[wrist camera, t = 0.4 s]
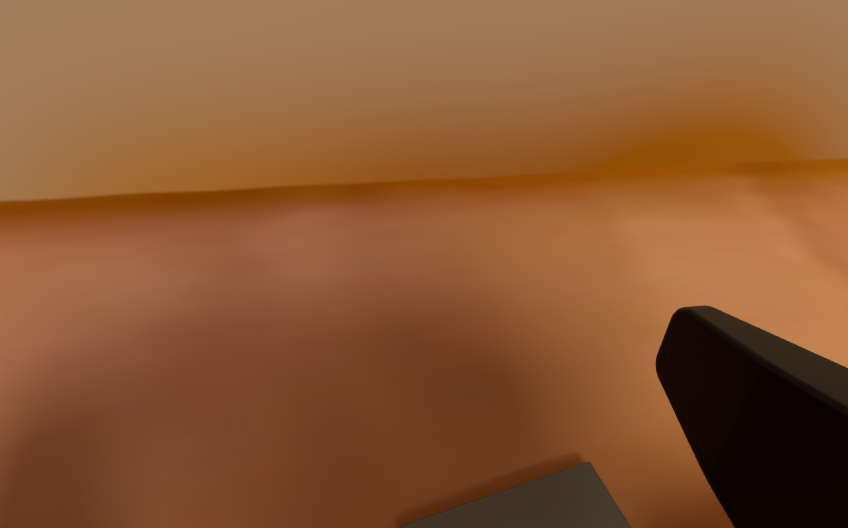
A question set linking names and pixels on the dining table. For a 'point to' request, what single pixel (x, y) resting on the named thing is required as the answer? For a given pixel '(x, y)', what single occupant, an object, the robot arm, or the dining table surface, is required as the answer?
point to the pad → (538, 505)
